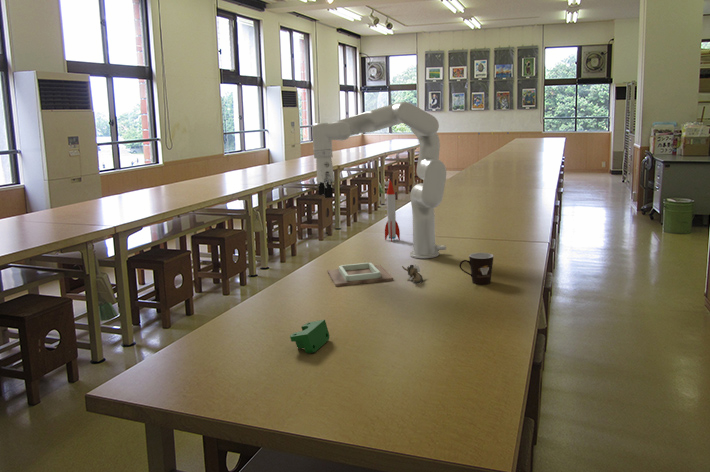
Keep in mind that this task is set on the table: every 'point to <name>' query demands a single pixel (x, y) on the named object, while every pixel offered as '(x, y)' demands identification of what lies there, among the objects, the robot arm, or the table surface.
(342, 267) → the jig board
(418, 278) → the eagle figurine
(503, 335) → the table surface
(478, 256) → the coffee mug
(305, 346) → the clamp
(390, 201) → the toy rocket
